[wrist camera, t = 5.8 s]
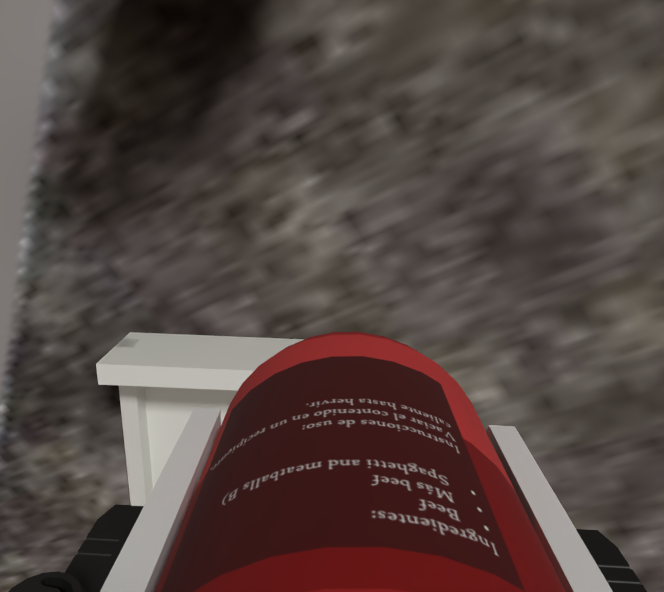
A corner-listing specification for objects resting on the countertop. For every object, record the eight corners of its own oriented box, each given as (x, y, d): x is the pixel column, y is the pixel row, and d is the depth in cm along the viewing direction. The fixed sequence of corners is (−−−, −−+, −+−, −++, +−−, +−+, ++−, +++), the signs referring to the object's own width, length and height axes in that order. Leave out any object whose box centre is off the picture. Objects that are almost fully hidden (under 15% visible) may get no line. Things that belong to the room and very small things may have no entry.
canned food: (355, 586, 18) (380, 1220, 8) (172, 440, 16) (-121, 989, 6) (533, 445, 16) (881, 1010, 6) (347, 268, 15) (370, 610, 4)
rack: (394, 343, 32) (400, 377, 28) (372, 651, 40) (375, 714, 35) (130, 332, 32) (96, 363, 28) (158, 639, 40) (135, 700, 36)
